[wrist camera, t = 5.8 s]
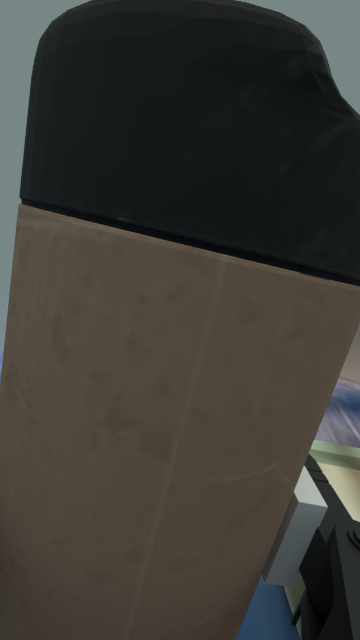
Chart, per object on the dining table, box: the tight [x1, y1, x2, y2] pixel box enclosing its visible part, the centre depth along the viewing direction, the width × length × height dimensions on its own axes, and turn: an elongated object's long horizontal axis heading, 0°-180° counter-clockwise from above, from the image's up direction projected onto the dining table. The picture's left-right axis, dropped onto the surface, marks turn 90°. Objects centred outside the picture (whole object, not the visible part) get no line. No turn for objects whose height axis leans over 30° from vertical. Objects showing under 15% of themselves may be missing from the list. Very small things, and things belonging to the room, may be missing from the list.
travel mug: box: [0, 0, 360, 640], centre depth 9 cm, size 8×8×20 cm
